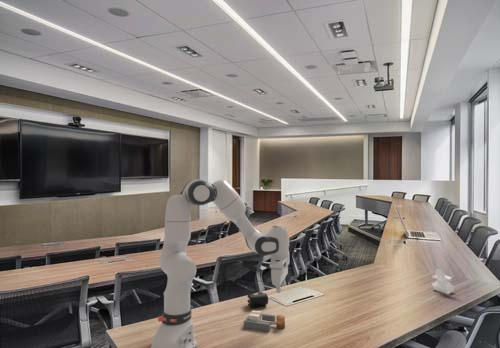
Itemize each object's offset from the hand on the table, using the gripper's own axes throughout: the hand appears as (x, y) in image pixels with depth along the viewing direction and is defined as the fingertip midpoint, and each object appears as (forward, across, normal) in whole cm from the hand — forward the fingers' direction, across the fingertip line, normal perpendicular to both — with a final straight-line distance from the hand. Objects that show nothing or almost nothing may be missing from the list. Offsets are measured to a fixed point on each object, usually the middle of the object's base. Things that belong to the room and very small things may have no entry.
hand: (280, 288), depth 158 cm
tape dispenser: (+20, -75, +86) cm, 116 cm away
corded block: (+18, +1, -7) cm, 19 cm away
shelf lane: (+18, +1, -10) cm, 21 cm away
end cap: (+18, -20, -18) cm, 33 cm away
